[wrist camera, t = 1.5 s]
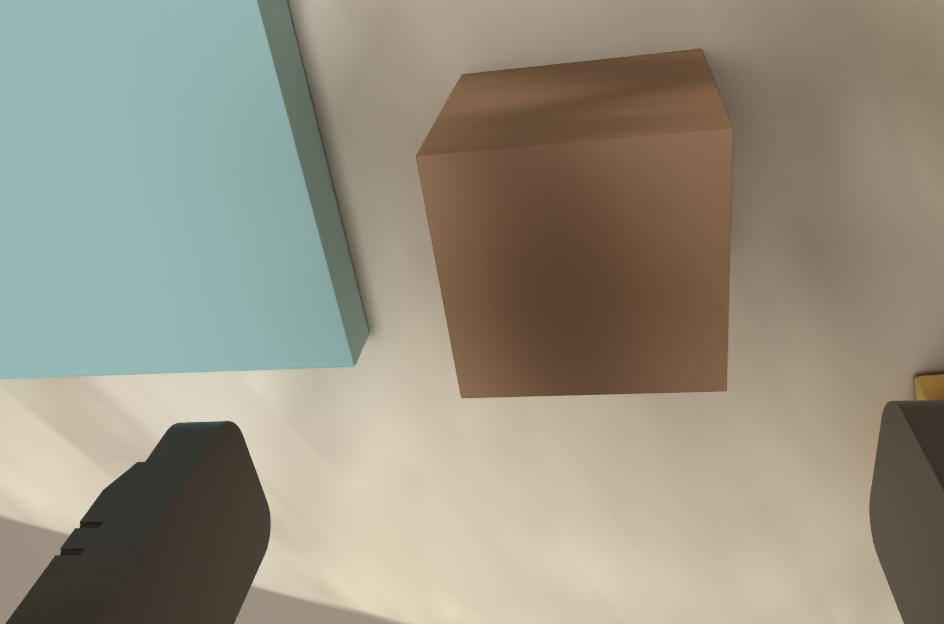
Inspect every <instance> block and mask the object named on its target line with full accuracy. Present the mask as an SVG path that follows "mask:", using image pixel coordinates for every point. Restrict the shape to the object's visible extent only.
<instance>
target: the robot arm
mask: <svg viewBox="0 0 944 624" xmlns="http://www.w3.org/2000/svg"><path fill="white" fill-rule="evenodd" d="M869 511H870V525H871V532H872V537H873V542H874V546H875V549H876V553H877V555H878V558H879V561H880V563H881V566H882V568H883V571H884V573H885V576H886V579H887V581H888V584H889V586H890V589H891V591H892V594H893V597H894V599H895V602H896V604H897V607H898V609H899V612H900V614H901V617H902V620H903V622H904V624H944V400H913V401H890V402H888V403H887V404H886V406H885V408H884V411H883V414H882V420H881V427H880V433H879V440H878V447H877V454H876V460H875V467H874V474H873V481H872V487H871V494H870V506H869ZM270 526H271V524H270V511H269V506H268V503H267V500H266V497H265V495H264V492H263V489H262V486H261V484H260V481H259V478H258V475H257V473H256V470H255V467H254V464H253V462H252V459H251V456H250V454H249V451H248V448H247V445H246V443H245V440H244V437H243V435H242V432H241V430H240V429H239V427H238V426H237V425H236V424H235V423H233V422H231V421H219V422H189V423H176V424H174V425H172V426H171V427H170V428H169V429H168V430H167V432H166V433H165V434H164V436H163V437H162V439H161V440H160V442H159V443H158V444H157V446H156V447H155V449H154V450H153V452H152V453H151V454H150V456H149V457H148V459H147V460H146V462H137V463H136V464H135V465H134V466H132V467H131V468H130V469H129V470H127V471H126V472H125V473H124V474H122V475H121V476H120V477H119V478H118V479H116V480H115V481H114V482H113V483H111V484H110V485H109V486H108V487H106V488H105V489H104V490H103V491H102V492H101V494H100V495H99V497H98V498H97V499H96V501H95V502H94V503H93V505H92V506H91V508H90V509H89V510H88V512H87V513H86V514H85V516H84V517H83V518H82V520H81V521H80V528H75V529H74V531H73V532H72V534H71V535H70V536H69V538H68V539H67V540H66V542H65V543H64V544H63V546H62V547H61V554H60V555H59V556H55V557H54V558H53V560H52V561H51V562H50V564H49V565H48V566H47V568H46V569H45V570H44V572H43V573H42V575H41V576H40V577H39V579H38V580H37V581H36V583H35V584H34V586H33V587H32V588H31V590H30V591H29V592H28V594H27V595H26V596H25V598H24V599H23V601H22V602H21V603H20V605H19V606H18V607H17V609H16V610H15V611H14V613H13V614H12V616H11V617H10V618H9V620H8V621H7V622H6V624H234V622H235V620H236V618H237V616H238V613H239V611H240V609H241V606H242V604H243V602H244V600H245V598H246V595H247V593H248V591H249V589H250V586H251V584H252V582H253V580H254V577H255V575H256V573H257V571H258V568H259V566H260V564H261V562H262V560H263V557H264V555H265V552H266V550H267V546H268V542H269V537H270Z"/></svg>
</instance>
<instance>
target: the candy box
mask: <svg viewBox="0 0 944 624" xmlns="http://www.w3.org/2000/svg"><path fill="white" fill-rule="evenodd" d="M914 382H915V393H916V400H944V374H940V375H926V376H918V377H916V378H914Z"/></svg>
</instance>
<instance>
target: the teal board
mask: <svg viewBox="0 0 944 624" xmlns="http://www.w3.org/2000/svg"><path fill="white" fill-rule="evenodd" d="M368 336H369V331H368V327H367V322H366V318H365V314H364V310H363V306H362V302H361V298H360V294H359V290H358V286H357V282H356V278H355V274H354V270H353V266H352V262H351V258H350V254H349V250H348V246H347V242H346V238H345V234H344V230H343V225H342V221H341V217H340V213H339V209H338V205H337V201H336V197H335V193H334V189H333V185H332V181H331V177H330V173H329V169H328V165H327V161H326V157H325V153H324V149H323V145H322V141H321V137H320V133H319V128H318V124H317V120H316V116H315V112H314V108H313V104H312V100H311V96H310V92H309V88H308V84H307V80H306V76H305V72H304V68H303V64H302V60H301V56H300V52H299V48H298V44H297V40H296V36H295V31H294V27H293V23H292V19H291V15H290V11H289V7H288V3H287V0H0V379H16V378H45V377H74V376H103V375H131V374H160V373H189V372H218V371H246V370H275V369H304V368H332V367H354V366H355V364H356V362H357V360H358V357H359V355H360V353H361V351H362V349H363V347H364V344H365V342H366V340H367V338H368Z"/></svg>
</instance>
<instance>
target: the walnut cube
mask: <svg viewBox="0 0 944 624" xmlns="http://www.w3.org/2000/svg"><path fill="white" fill-rule="evenodd" d="M732 139H733V128H732V125H731V123H730V120H729V118H728V115H727V113H726V110H725V107H724V105H723V102H722V100H721V97H720V95H719V92H718V90H717V87H716V85H715V82H714V79H713V77H712V74H711V72H710V69H709V67H708V64H707V62H706V59H705V57H704V54H703V51H702V49H694V50H685V51H676V52H666V53H657V54H648V55H638V56H629V57H620V58H611V59H601V60H592V61H583V62H573V63H564V64H555V65H545V66H536V67H527V68H518V69H508V70H499V71H490V72H480V73H471V74H462V75H461V77H460V79H459V81H458V83H457V84H456V86H455V88H454V90H453V91H452V93H451V95H450V97H449V99H448V100H447V102H446V104H445V106H444V107H443V109H442V111H441V113H440V114H439V116H438V118H437V120H436V122H435V123H434V125H433V127H432V129H431V130H430V132H429V134H428V136H427V138H426V139H425V141H424V143H423V145H422V146H421V148H420V150H419V152H418V154H417V155H416V159H417V165H418V170H419V175H420V181H421V186H422V191H423V197H424V202H425V207H426V213H427V218H428V223H429V229H430V234H431V239H432V245H433V250H434V255H435V261H436V266H437V271H438V277H439V282H440V288H441V293H442V298H443V304H444V309H445V314H446V320H447V325H448V330H449V336H450V341H451V346H452V352H453V357H454V362H455V368H456V373H457V378H458V384H459V389H460V394H461V398H486V397H524V396H563V395H601V394H639V393H677V392H715V391H727V355H728V312H729V268H730V225H731V182H732Z"/></svg>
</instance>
